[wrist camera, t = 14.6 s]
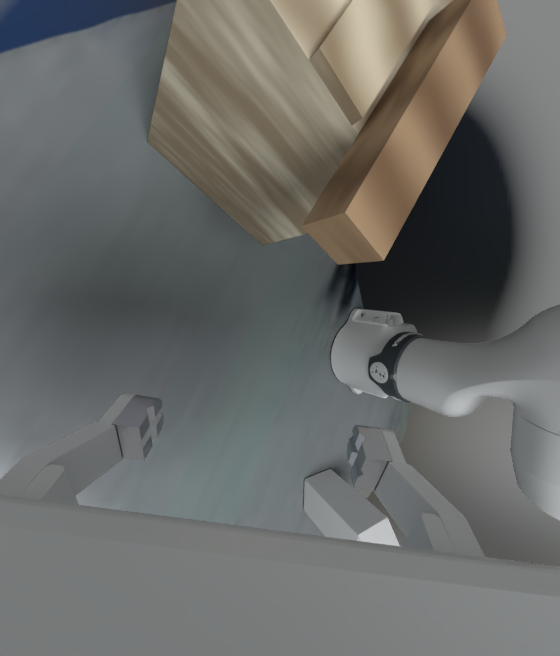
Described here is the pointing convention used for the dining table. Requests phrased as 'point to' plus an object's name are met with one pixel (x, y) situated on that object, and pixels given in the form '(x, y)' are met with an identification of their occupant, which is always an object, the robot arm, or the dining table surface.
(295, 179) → the slotted stand
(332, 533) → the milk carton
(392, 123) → the rail bar
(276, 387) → the dining table surface
